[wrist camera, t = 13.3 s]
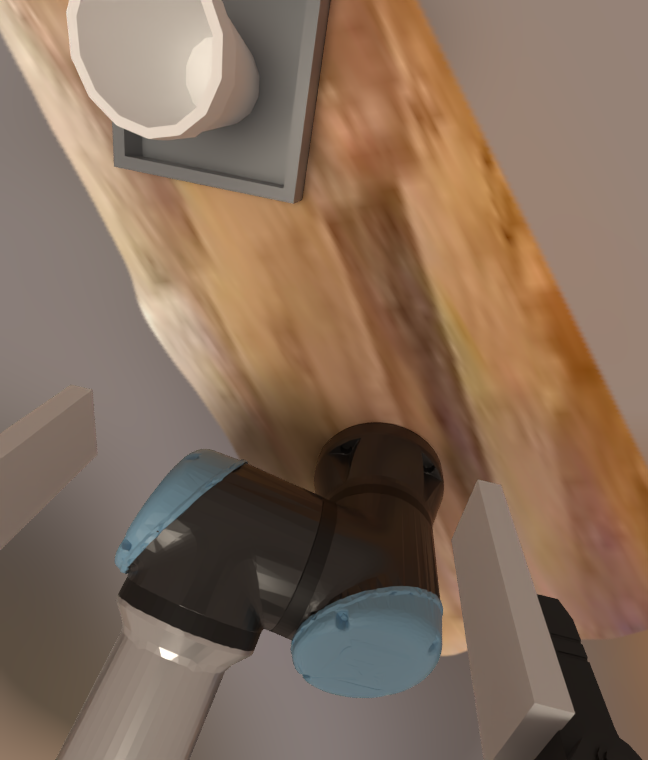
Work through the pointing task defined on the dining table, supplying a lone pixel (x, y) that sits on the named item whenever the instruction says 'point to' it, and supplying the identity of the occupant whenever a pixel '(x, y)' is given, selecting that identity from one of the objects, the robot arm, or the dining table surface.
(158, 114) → the foam cup
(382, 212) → the dining table surface
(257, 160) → the tray
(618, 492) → the dining table surface
